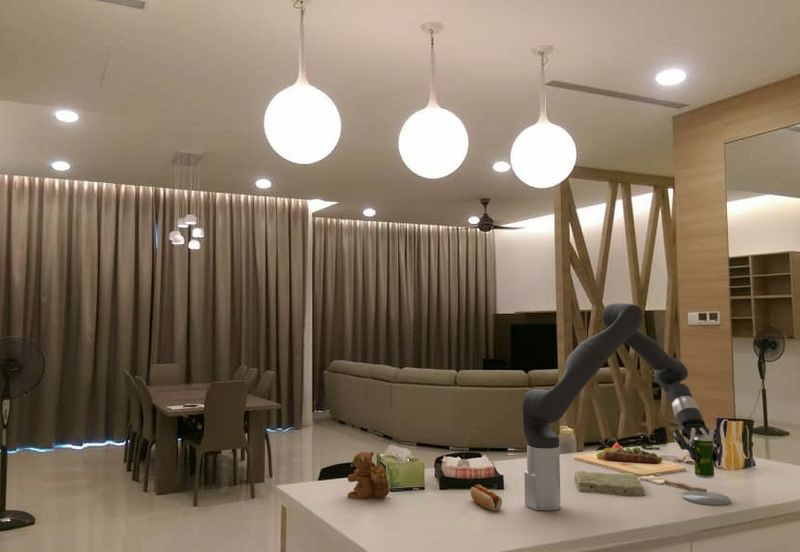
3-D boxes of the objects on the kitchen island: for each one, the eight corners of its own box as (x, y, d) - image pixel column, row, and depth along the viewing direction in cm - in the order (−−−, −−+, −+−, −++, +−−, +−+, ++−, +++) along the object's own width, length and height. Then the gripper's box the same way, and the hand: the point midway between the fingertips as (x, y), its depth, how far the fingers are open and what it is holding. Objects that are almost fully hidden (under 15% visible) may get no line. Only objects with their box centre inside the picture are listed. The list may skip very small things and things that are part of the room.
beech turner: (711, 492, 198) (710, 488, 198) (699, 494, 195) (698, 490, 195) (651, 477, 217) (651, 473, 217) (639, 479, 214) (639, 476, 214)
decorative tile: (574, 480, 215) (574, 469, 215) (636, 483, 211) (636, 472, 211) (577, 494, 197) (577, 482, 197) (645, 498, 193) (645, 486, 193)
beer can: (709, 474, 193) (707, 434, 194) (718, 478, 188) (716, 437, 188) (691, 474, 193) (690, 434, 194) (699, 478, 188) (698, 437, 188)
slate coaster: (706, 507, 181) (706, 504, 181) (672, 495, 193) (672, 493, 193) (740, 502, 186) (740, 500, 186) (705, 491, 198) (705, 489, 198)
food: (466, 500, 189) (466, 483, 189) (483, 499, 190) (483, 482, 191) (488, 513, 175) (488, 495, 176) (505, 511, 177) (505, 493, 178)
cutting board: (570, 460, 248) (570, 440, 248) (614, 454, 258) (614, 436, 259) (642, 479, 217) (641, 457, 217) (688, 472, 227) (687, 451, 228)
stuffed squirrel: (361, 489, 200) (361, 447, 201) (398, 496, 193) (398, 452, 194) (342, 497, 192) (342, 452, 193) (380, 504, 184) (380, 458, 185)
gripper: (668, 406, 199) (686, 453, 186) (713, 406, 199) (735, 453, 186) (661, 421, 204) (679, 467, 191) (706, 421, 204) (726, 467, 191)
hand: (707, 460), depth 189 cm, fingers closed on beer can, 5 cm apart
